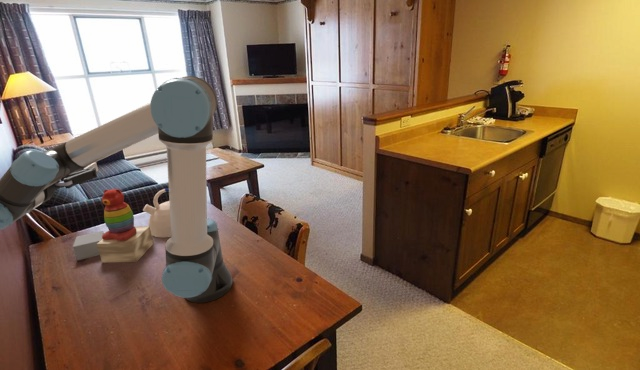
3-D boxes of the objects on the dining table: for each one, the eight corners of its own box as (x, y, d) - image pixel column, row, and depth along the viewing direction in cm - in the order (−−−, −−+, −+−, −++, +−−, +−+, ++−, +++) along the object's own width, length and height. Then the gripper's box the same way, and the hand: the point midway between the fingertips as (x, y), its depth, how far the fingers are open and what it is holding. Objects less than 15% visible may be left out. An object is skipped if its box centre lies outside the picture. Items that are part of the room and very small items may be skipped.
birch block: (136, 262, 125) (131, 243, 122) (102, 262, 125) (96, 244, 122) (153, 243, 137) (149, 226, 134) (122, 244, 137) (117, 227, 134)
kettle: (148, 223, 155) (139, 186, 148) (196, 213, 163) (189, 177, 156) (148, 242, 138) (137, 202, 131) (201, 230, 145) (193, 191, 139)
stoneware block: (105, 254, 131) (100, 240, 129) (77, 260, 127) (72, 246, 125) (107, 243, 138) (103, 230, 136) (81, 249, 135) (76, 236, 133)
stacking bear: (99, 239, 125) (86, 194, 119) (121, 227, 134) (110, 185, 128) (123, 241, 122) (111, 195, 116) (144, 229, 131) (133, 185, 126)
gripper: (-20, 211, 86) (33, 183, 106) (86, 201, 90) (118, 176, 109) (-32, 184, 84) (25, 160, 103) (77, 174, 87) (112, 153, 107)
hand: (72, 168), depth 106 cm, fingers open, 13 cm apart
